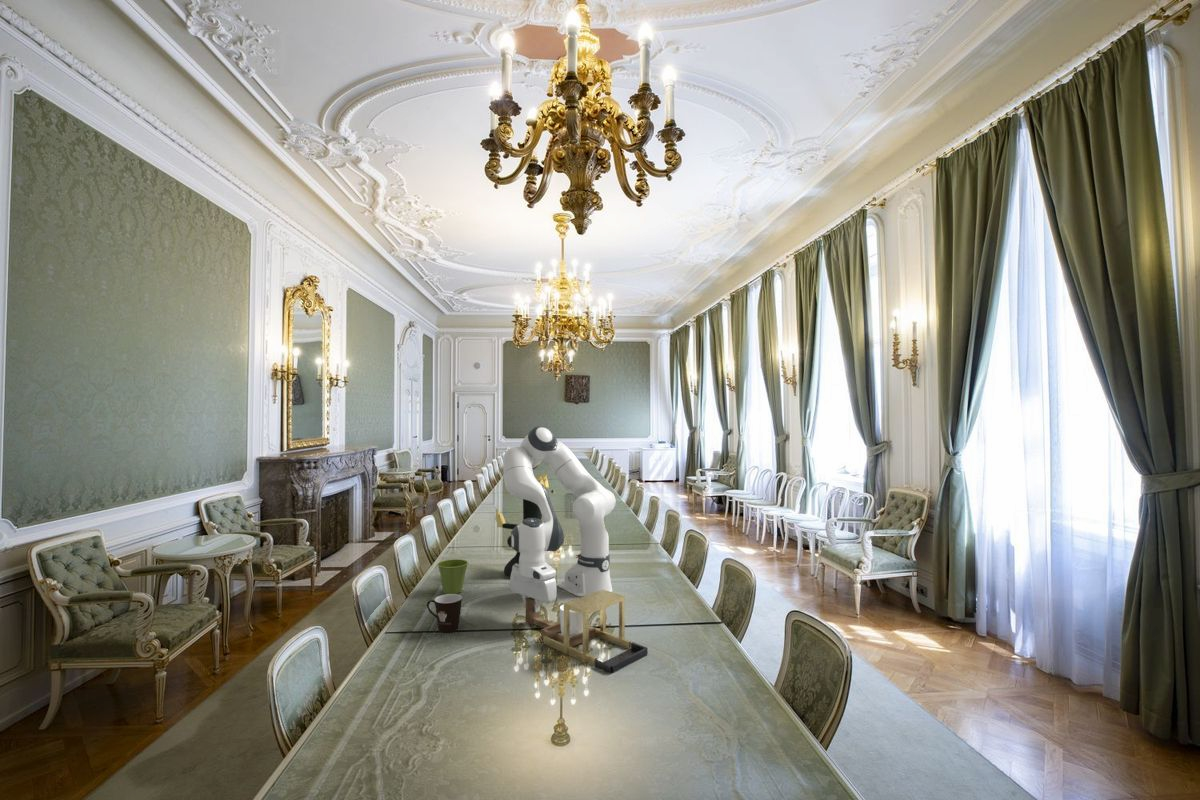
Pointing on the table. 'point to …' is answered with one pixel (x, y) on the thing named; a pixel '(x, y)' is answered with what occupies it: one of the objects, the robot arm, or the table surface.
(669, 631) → the table surface
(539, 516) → the candelabra
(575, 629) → the white cup
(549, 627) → the wooden frame with handle
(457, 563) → the plant pot
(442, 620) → the coffee mug
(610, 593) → the tunnel
